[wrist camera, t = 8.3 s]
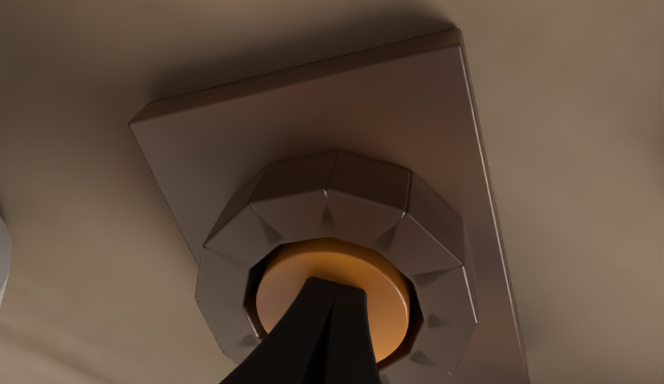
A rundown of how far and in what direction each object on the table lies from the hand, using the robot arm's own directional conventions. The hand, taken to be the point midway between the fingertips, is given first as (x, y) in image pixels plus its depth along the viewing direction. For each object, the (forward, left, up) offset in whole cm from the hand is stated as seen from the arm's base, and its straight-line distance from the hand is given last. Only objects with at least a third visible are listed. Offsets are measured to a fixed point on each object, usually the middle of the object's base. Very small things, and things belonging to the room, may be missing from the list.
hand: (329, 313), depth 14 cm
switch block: (0, 0, -3) cm, 3 cm away
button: (0, 0, -2) cm, 2 cm away
